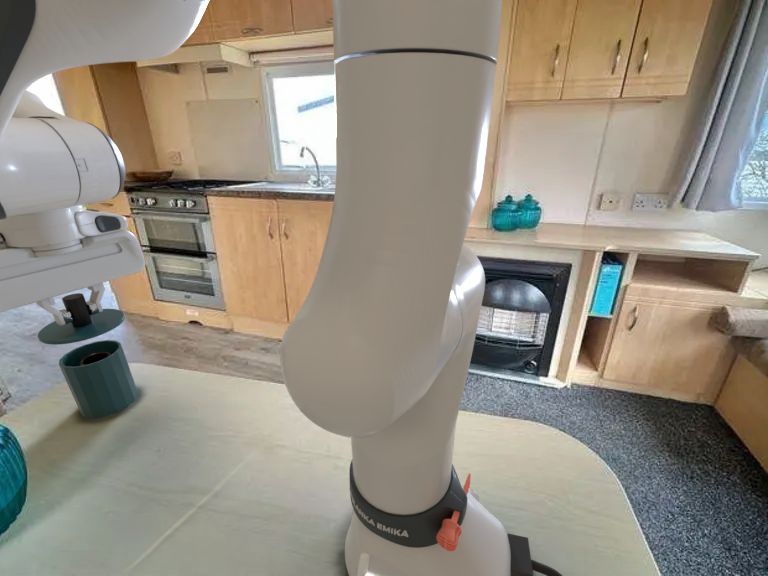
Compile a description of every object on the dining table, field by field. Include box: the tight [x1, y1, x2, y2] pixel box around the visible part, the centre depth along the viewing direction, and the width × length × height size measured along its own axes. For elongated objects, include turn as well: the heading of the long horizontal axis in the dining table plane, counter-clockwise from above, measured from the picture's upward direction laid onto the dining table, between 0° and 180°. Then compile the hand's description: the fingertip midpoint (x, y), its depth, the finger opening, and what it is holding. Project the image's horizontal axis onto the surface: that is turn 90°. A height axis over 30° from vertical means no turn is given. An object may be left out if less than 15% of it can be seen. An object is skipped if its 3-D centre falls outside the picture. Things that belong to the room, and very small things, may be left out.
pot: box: [58, 339, 139, 419], centre depth 68 cm, size 9×9×12 cm
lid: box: [37, 292, 126, 346], centre depth 52 cm, size 10×10×6 cm
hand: (81, 317), depth 52 cm, fingers closed on lid, 2 cm apart
